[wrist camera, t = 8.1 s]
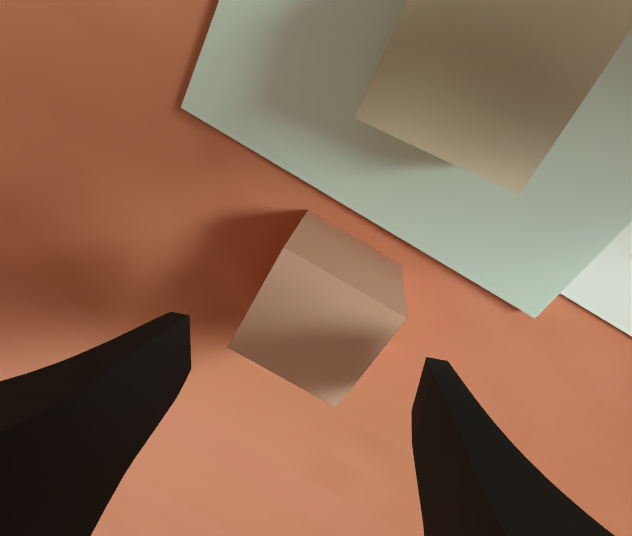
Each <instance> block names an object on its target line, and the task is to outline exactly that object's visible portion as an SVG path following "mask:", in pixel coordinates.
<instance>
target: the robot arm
mask: <svg viewBox="0 0 632 536" xmlns="http://www.w3.org/2000/svg"><path fill="white" fill-rule="evenodd" d="M190 370H191V345H190V315H185V314H179V313H174V312H170V313H167V314H165V315H162V316H160V317H158V318H156V319H154V320H152V321H150V322H148V323H145V324H143V325H141V326H139V327H137V328H135V329H133V330H131V331H129V332H127V333H125V334H123V335H121V336H119V337H117V338H114V339H112V340H110V341H108V342H106V343H103V344H101V345H99V346H97V347H94V348H92V349H90V350H87V351H85V352H83V353H81V354H78V355H76V356H74V357H71V358H69V359H66V360H63V361H61V362H58V363H56V364H53V365H50V366H47V367H44V368H41V369H39V370H36V371H33V372H30V373H27V374H24V375H20V376H17V377H13V378H10V379H6V380H3V381H0V536H91V534H92V532H93V530H94V528H95V527H96V525H97V523H98V521H99V519H100V517H101V515H102V513H103V512H104V510H105V508H106V506H107V504H108V502H109V501H110V499H111V497H112V495H113V494H114V492H115V490H116V488H117V486H118V485H119V483H120V481H121V479H122V478H123V476H124V474H125V473H126V471H127V469H128V468H129V466H130V465H131V463H132V462H133V460H134V459H135V457H136V456H137V454H138V453H139V451H140V450H141V449H142V447H143V446H144V444H145V443H146V441H147V440H148V438H149V437H150V436H151V434H152V433H153V431H154V430H155V428H156V427H157V426H158V424H159V423H160V421H161V420H162V418H163V417H164V415H165V414H166V412H167V411H168V410H169V408H170V407H171V405H172V404H173V402H174V401H175V399H176V398H177V396H178V394H179V392H180V390H181V388H182V387H183V385H184V383H185V381H186V379H187V376H188V374H189V372H190ZM412 446H413V454H414V461H415V469H416V476H417V483H418V490H419V497H420V504H421V511H422V518H423V526H424V536H614V535H613V534H612V533H610V532H609V531H608V530H606V529H605V528H604V527H603V526H601V525H600V524H599V523H598V522H597V521H595V520H594V519H593V518H592V517H590V516H589V515H588V514H587V513H585V512H584V511H583V510H582V509H581V508H580V507H579V506H577V505H576V504H575V503H574V502H573V501H572V500H571V499H569V498H568V497H567V496H566V495H565V494H564V493H562V492H561V491H560V490H559V489H558V488H557V487H556V486H555V485H554V484H553V483H551V482H550V481H549V480H548V479H547V478H546V477H545V476H544V475H543V474H542V473H541V472H540V471H539V470H538V469H537V468H536V467H535V466H534V465H533V464H532V463H531V462H530V461H529V460H528V459H527V458H526V457H525V456H524V455H523V454H522V453H521V452H520V451H519V450H518V449H517V448H516V447H515V446H514V445H513V443H512V442H511V441H510V440H509V439H508V438H507V437H506V435H505V434H504V433H503V432H502V431H501V430H500V429H499V427H498V426H497V425H496V424H495V423H494V422H493V420H492V419H491V418H490V417H489V416H488V414H487V413H486V412H485V411H484V409H483V408H482V407H481V405H480V404H479V403H478V402H477V400H476V399H475V398H474V396H473V395H472V394H471V392H470V391H469V390H468V388H467V387H466V386H465V384H464V383H463V381H462V380H461V379H460V377H459V376H458V374H457V373H456V372H455V370H454V369H453V368H452V366H451V365H450V363H449V362H448V361H445V360H439V359H433V358H428V357H426V360H425V364H424V367H423V371H422V375H421V378H420V382H419V386H418V389H417V393H416V397H415V400H414V404H413V408H412Z"/></svg>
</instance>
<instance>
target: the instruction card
mask: <svg viewBox="0 0 632 536" xmlns="http://www.w3.org/2000/svg"><path fill="white" fill-rule="evenodd" d="M560 294H562V295H564V296H565V297H567V298H569V299H570V300H572V301H574V302H575V303H577V304H579V305H580V306H582V307H584V308H585V309H587V310H589V311H590V312H592V313H594V314H595V315H597V316H599V317H600V318H602V319H603V320H605V321H607V322H608V323H610V324H612V325H613V326H615V327H617V328H618V329H620V330H622V331H623V332H625V333H627V334H628V335H630V336H632V221H631V222H630V223H629V224H628V225H627V226H626V227H625V228H624V229H623V230H622V231H621V232H620V233H619V234H618V235H617V236H616V237H615V238H614V239H613V240H612V241H611V243H610V244H609V245H608V246H607V247H606V248H605V249H604V250H603V251H602V252H601V253H600V254H599V255H598V256H597V257H596V258H595V259H594V260H593V261H592V262H591V263H590V264H589V265H588V266H587V267H586V268H585V269H584V270H583V271H582V272H581V273H580V274H579V275H578V276H577V277H576V278H575V279H574V280H573V281H572V282H571V283H570V284H569V285H568V286H567V287H566V288H565V289H564V290H563V291H562V292H561V293H560Z"/></svg>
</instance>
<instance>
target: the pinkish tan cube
mask: <svg viewBox="0 0 632 536" xmlns="http://www.w3.org/2000/svg"><path fill="white" fill-rule="evenodd" d="M406 320H407V311H406V302H405V293H404V283H403V274H402V265H401V264H400V263H398V262H397V261H395V260H393V259H391V258H390V257H388V256H386V255H385V254H383V253H381V252H380V251H378V250H376V249H374V248H373V247H371V246H369V245H368V244H366V243H364V242H363V241H361V240H359V239H357V238H356V237H354V236H352V235H351V234H349V233H347V232H346V231H344V230H342V229H340V228H339V227H337V226H335V225H334V224H332V223H330V222H329V221H327V220H325V219H323V218H322V217H320V216H318V215H317V214H315V213H313V212H312V211H310V210H308V211H307V212H306V214H305V215H304V217H303V218H302V220H301V221H300V223H299V225H298V226H297V228H296V229H295V231H294V232H293V234H292V235H291V237H290V238H289V240H288V241H287V243H286V244H285V246H284V248H283V249H282V251H281V253H280V255H279V256H278V258H277V260H276V262H275V264H274V265H273V267H272V269H271V271H270V272H269V274H268V276H267V278H266V280H265V281H264V283H263V285H262V287H261V288H260V290H259V292H258V294H257V296H256V297H255V299H254V301H253V303H252V304H251V306H250V308H249V310H248V312H247V313H246V315H245V317H244V319H243V321H242V322H241V324H240V326H239V328H238V329H237V331H236V333H235V335H234V337H233V338H232V340H231V342H230V344H229V345H228V348H229V349H231V350H233V351H235V352H237V353H239V354H240V355H242V356H244V357H246V358H248V359H249V360H251V361H253V362H255V363H257V364H258V365H260V366H262V367H264V368H266V369H268V370H269V371H271V372H273V373H275V374H277V375H278V376H280V377H282V378H284V379H286V380H288V381H289V382H291V383H293V384H295V385H297V386H298V387H300V388H302V389H304V390H306V391H308V392H309V393H311V394H313V395H315V396H317V397H318V398H320V399H322V400H324V401H326V402H328V403H329V404H331V405H333V406H335V407H337V405H338V404H339V403H340V402H341V400H342V399H343V398H344V397H345V396H346V394H347V393H348V392H349V391H350V389H351V388H352V387H353V386H354V384H355V383H356V382H357V381H358V379H359V378H360V377H361V376H362V374H363V373H364V372H365V371H366V369H367V368H368V367H369V366H370V364H371V363H372V362H373V361H374V359H375V358H376V357H377V356H378V354H379V353H380V352H381V351H382V350H383V348H384V347H385V346H386V345H387V343H388V342H389V341H390V340H391V338H392V337H393V336H394V335H395V333H396V332H397V331H398V330H399V328H400V327H401V326H402V325H403V323H404V322H405V321H406Z"/></svg>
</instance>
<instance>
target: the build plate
mask: <svg viewBox="0 0 632 536" xmlns="http://www.w3.org/2000/svg"><path fill="white" fill-rule="evenodd" d="M406 1H407V0H219V2H218V5H217V8H216V11H215V13H214V16H213V19H212V22H211V25H210V27H209V30H208V33H207V36H206V39H205V41H204V44H203V47H202V50H201V52H200V55H199V58H198V61H197V64H196V66H195V69H194V72H193V75H192V78H191V80H190V83H189V86H188V89H187V92H186V94H185V97H184V100H183V103H182V106H181V108H182V109H184V110H186V111H187V112H189V113H191V114H192V115H194V116H196V117H197V118H199V119H201V120H202V121H204V122H206V123H208V124H209V125H211V126H213V127H214V128H216V129H218V130H219V131H221V132H223V133H224V134H226V135H228V136H229V137H231V138H233V139H234V140H236V141H238V142H239V143H241V144H243V145H244V146H246V147H248V148H249V149H251V150H253V151H255V152H256V153H258V154H260V155H261V156H263V157H265V158H266V159H268V160H270V161H271V162H273V163H275V164H276V165H278V166H280V167H281V168H283V169H285V170H286V171H288V172H290V173H291V174H293V175H295V176H297V177H298V178H300V179H302V180H303V181H305V182H307V183H308V184H310V185H312V186H313V187H315V188H317V189H318V190H320V191H322V192H323V193H325V194H327V195H328V196H330V197H332V198H333V199H335V200H337V201H338V202H340V203H342V204H344V205H345V206H347V207H349V208H350V209H352V210H354V211H355V212H357V213H359V214H360V215H362V216H364V217H365V218H367V219H369V220H370V221H372V222H374V223H375V224H377V225H379V226H380V227H382V228H384V229H386V230H387V231H389V232H391V233H392V234H394V235H396V236H397V237H399V238H401V239H402V240H404V241H406V242H407V243H409V244H411V245H412V246H414V247H416V248H417V249H419V250H421V251H422V252H424V253H426V254H427V255H429V256H431V257H433V258H434V259H436V260H438V261H439V262H441V263H443V264H444V265H446V266H448V267H449V268H451V269H453V270H454V271H456V272H458V273H459V274H461V275H463V276H464V277H466V278H468V279H469V280H471V281H473V282H475V283H476V284H478V285H480V286H481V287H483V288H485V289H486V290H488V291H490V292H491V293H493V294H495V295H496V296H498V297H500V298H501V299H503V300H505V301H506V302H508V303H510V304H511V305H513V306H515V307H516V308H518V309H520V310H522V311H523V312H525V313H527V314H528V315H530V316H532V317H533V318H536V317H537V316H538V315H539V314H540V313H541V312H542V311H543V310H544V309H545V308H546V307H547V306H548V305H549V304H550V303H551V302H552V301H553V300H554V299H555V298H556V297H557V296H558V295H559V294H560V293H561V292H562V291H563V290H564V289H565V288H566V287H567V286H568V285H569V284H570V283H571V282H572V281H573V280H574V279H575V278H576V277H577V276H578V275H579V274H580V273H581V272H582V271H583V270H584V269H585V268H586V267H587V266H588V265H589V264H590V263H591V262H592V261H593V260H594V259H595V258H596V257H597V256H598V255H599V254H600V253H601V252H602V251H603V250H604V249H605V248H606V247H607V246H608V245H609V244H610V243H611V241H612V240H613V239H614V238H615V237H616V236H617V235H618V234H619V233H620V232H621V231H622V230H623V229H624V228H625V227H626V226H627V225H628V224H629V223H630V222H631V221H632V29H631V30H630V32H629V33H628V35H627V36H626V38H625V39H624V41H623V42H622V44H621V45H620V47H619V48H618V50H617V51H616V53H615V54H614V56H613V57H612V58H611V60H610V61H609V63H608V64H607V66H606V67H605V69H604V70H603V72H602V73H601V75H600V76H599V78H598V79H597V81H596V82H595V84H594V85H593V87H592V88H591V90H590V91H589V93H588V94H587V95H586V97H585V98H584V100H583V101H582V103H581V104H580V106H579V107H578V109H577V110H576V112H575V113H574V115H573V116H572V118H571V119H570V121H569V122H568V124H567V125H566V127H565V128H564V130H563V131H562V132H561V134H560V135H559V137H558V138H557V140H556V141H555V143H554V144H553V146H552V147H551V149H550V150H549V152H548V153H547V155H546V156H545V158H544V159H543V161H542V162H541V164H540V165H539V167H538V168H537V169H536V171H535V172H534V174H533V175H532V177H531V178H530V180H529V181H528V183H527V184H526V186H525V187H524V189H523V190H522V192H521V193H520V195H517V194H515V193H513V192H511V191H509V190H506V189H504V188H502V187H500V186H498V185H496V184H494V183H492V182H489V181H487V180H485V179H483V178H481V177H479V176H477V175H475V174H472V173H470V172H468V171H466V170H464V169H462V168H460V167H457V166H455V165H453V164H451V163H449V162H447V161H445V160H443V159H440V158H438V157H436V156H434V155H432V154H430V153H428V152H426V151H423V150H421V149H419V148H417V147H415V146H413V145H411V144H409V143H406V142H404V141H402V140H400V139H398V138H396V137H394V136H392V135H389V134H387V133H385V132H383V131H381V130H379V129H377V128H375V127H372V126H370V125H368V124H366V123H364V122H362V121H360V120H358V119H355V117H356V115H357V113H358V110H359V108H360V106H361V104H362V101H363V99H364V97H365V94H366V92H367V90H368V88H369V85H370V83H371V81H372V78H373V76H374V74H375V72H376V69H377V67H378V65H379V62H380V60H381V58H382V56H383V53H384V51H385V49H386V46H387V44H388V42H389V40H390V37H391V35H392V33H393V31H394V28H395V26H396V24H397V21H398V19H399V17H400V15H401V12H402V10H403V8H404V5H405V3H406Z"/></svg>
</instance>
